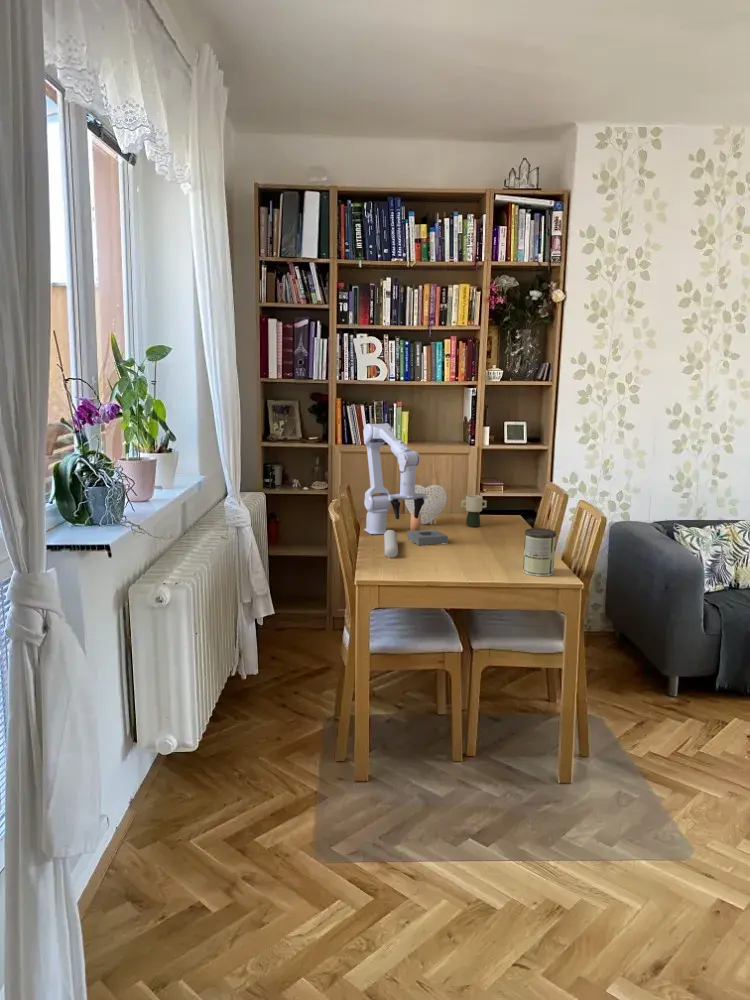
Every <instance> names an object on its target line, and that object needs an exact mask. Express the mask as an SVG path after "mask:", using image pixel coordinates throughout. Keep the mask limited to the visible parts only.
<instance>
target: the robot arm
mask: <svg viewBox="0 0 750 1000" xmlns="http://www.w3.org/2000/svg"><path fill="white" fill-rule="evenodd" d="M392 430H393V429H392V426H391V425H390V424H389V423H387V422H386V423H366V424H365V425H364V428H363V431H362V432H363V442H364V445H365V446H366V454H367V462H368V464H367V466H368V473H369V486H370V487H369V488H368V489H367V490H366V491H365V492H364V503H363V504H364V507H365V509H366V511H367V513H366V519H365V520H366V521H365V522H366V525H365V526H366V527H365V528H363V530H364V531H365V532H367V533H368V534H369V535H371V534H373V535H384V533H385V532H386V531H387V515H388V513H387V512H389V509H390V508H391V506H392V508H393V512H394V517H395V519H396V520H400V508H401V507H400V506H401V502H400V501H405V500H411V499H414V507H415V510H414V509H413V510H414V518H418V516H419V512H420V511H421V507H422V506H423V504H424V500H423V499H427V497H426V494H421V493H420V494H419V493H415V489H416V488H415V485H416V481H417V480H416V479H417V477H416V475H417V466H418V465H419V463H420V455H419V452H418V451H417V450H411V448H409V446H407V444H406V443H405V441H404V440H400V439H397V437H396V436H395V434H394V433H393V431H392ZM385 443H387V445H388V446H389V447H390V451H391V452H392V454H393V455H394V456H395V457H396V459H397V463H398V467H399V471H400V481H399V493H395V494H393V493H392V494H390V490H388V488H386V487H384V481H383V480H384V479H383V470H382V459H381V449H380V448H381V447H382V445H384V444H385Z"/></svg>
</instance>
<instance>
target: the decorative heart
mask: <svg viewBox="0 0 750 1000" xmlns="http://www.w3.org/2000/svg"><path fill="white" fill-rule="evenodd" d="M415 493H419V494H426V499H423V500H424V504H423V506H422V507H421V510H420V512H419V513H421V525H422V524H423V525H425V524H426V525H427V524H430V525H432V524H433V523H434V525H436V524H437V517H438V516H439V515H440V514H441V512H443V510H444V508H445V506H446V503H447V498H448V497H447V491H446V490H445V489H444V487H443V486H441V485H439V484H432V485H428V486H427V487H424V486H423V485H420V484H415ZM404 505H405V506H406V509H407V510H408V512H409V514H411V513H414V510H415V507H414V499H411V500H404ZM433 520H434V522H433Z"/></svg>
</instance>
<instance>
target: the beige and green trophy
mask: <svg viewBox="0 0 750 1000" xmlns="http://www.w3.org/2000/svg"><path fill="white" fill-rule="evenodd" d="M487 502H488V501H487V500H485V499H483V496H482V495H478V494H468V495H465V499H464V500H463V499H462V500H461V504H460V505H461V507H460V508H462V509H465V511H467V515H466V520H465V525H467V526H469V527H478V526H481V515H480V512H482V511H483V509H486V508H487ZM483 504H484V505H483Z"/></svg>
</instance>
